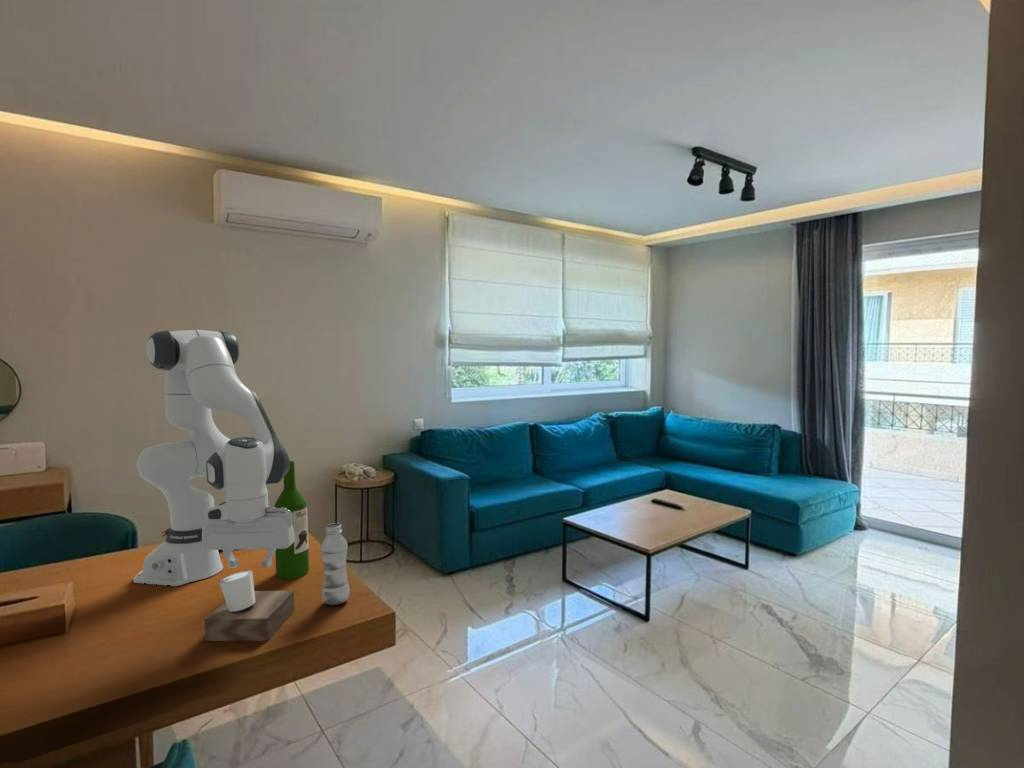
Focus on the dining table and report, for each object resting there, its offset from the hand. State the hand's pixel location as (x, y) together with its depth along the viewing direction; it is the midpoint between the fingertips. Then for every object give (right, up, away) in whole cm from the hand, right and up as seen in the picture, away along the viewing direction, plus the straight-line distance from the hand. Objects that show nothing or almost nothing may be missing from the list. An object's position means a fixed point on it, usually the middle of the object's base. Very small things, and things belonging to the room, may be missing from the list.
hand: (250, 566), depth 125 cm
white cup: (-1, -9, -1) cm, 9 cm away
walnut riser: (0, -14, +1) cm, 14 cm away
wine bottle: (-3, -13, +31) cm, 33 cm away
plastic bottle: (+16, -13, +12) cm, 24 cm away
